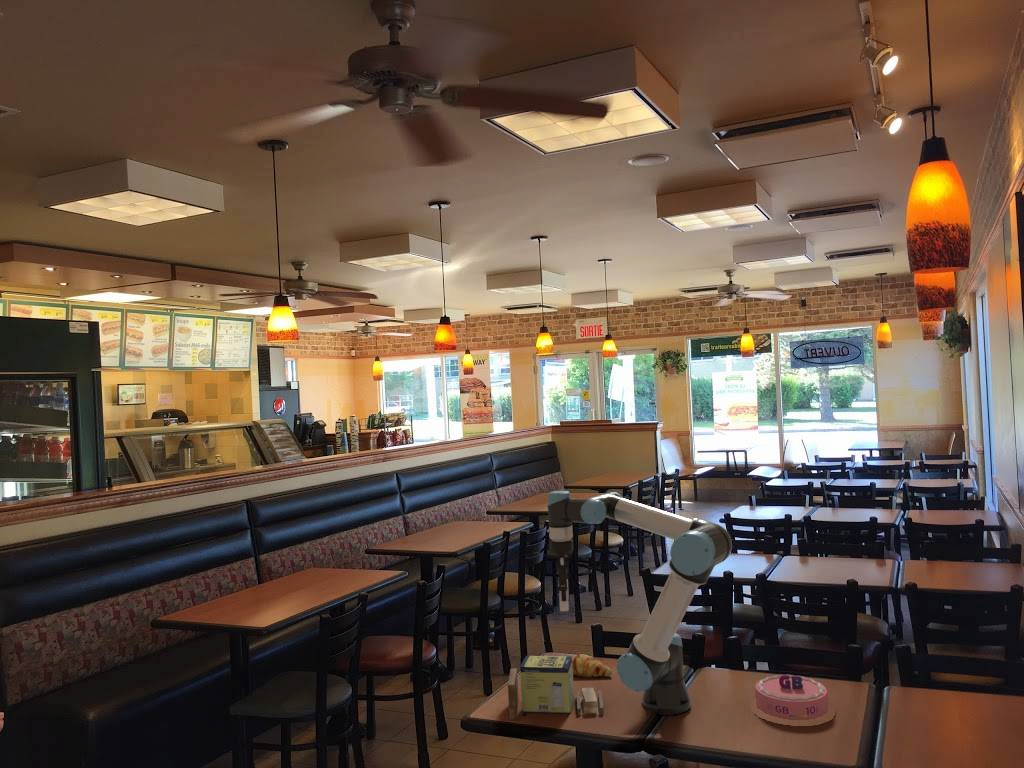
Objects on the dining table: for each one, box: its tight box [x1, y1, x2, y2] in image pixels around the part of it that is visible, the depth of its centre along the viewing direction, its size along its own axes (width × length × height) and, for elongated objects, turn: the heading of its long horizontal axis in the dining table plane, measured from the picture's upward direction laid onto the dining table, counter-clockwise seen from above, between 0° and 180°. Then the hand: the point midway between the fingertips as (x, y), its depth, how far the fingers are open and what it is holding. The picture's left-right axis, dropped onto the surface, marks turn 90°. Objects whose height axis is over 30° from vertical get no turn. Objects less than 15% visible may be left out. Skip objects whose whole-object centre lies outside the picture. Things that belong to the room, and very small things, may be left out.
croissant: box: [571, 653, 613, 678], centre depth 282 cm, size 21×10×8 cm, turn 61°
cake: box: [754, 674, 830, 720], centre depth 242 cm, size 25×25×11 cm
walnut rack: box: [507, 667, 605, 721], centre depth 251 cm, size 29×14×11 cm, turn 86°
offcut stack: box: [581, 687, 598, 714], centre depth 251 cm, size 4×12×4 cm, turn 176°
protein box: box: [519, 655, 576, 717], centre depth 252 cm, size 10×16×16 cm
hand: (564, 604), depth 257 cm, fingers open, 13 cm apart
